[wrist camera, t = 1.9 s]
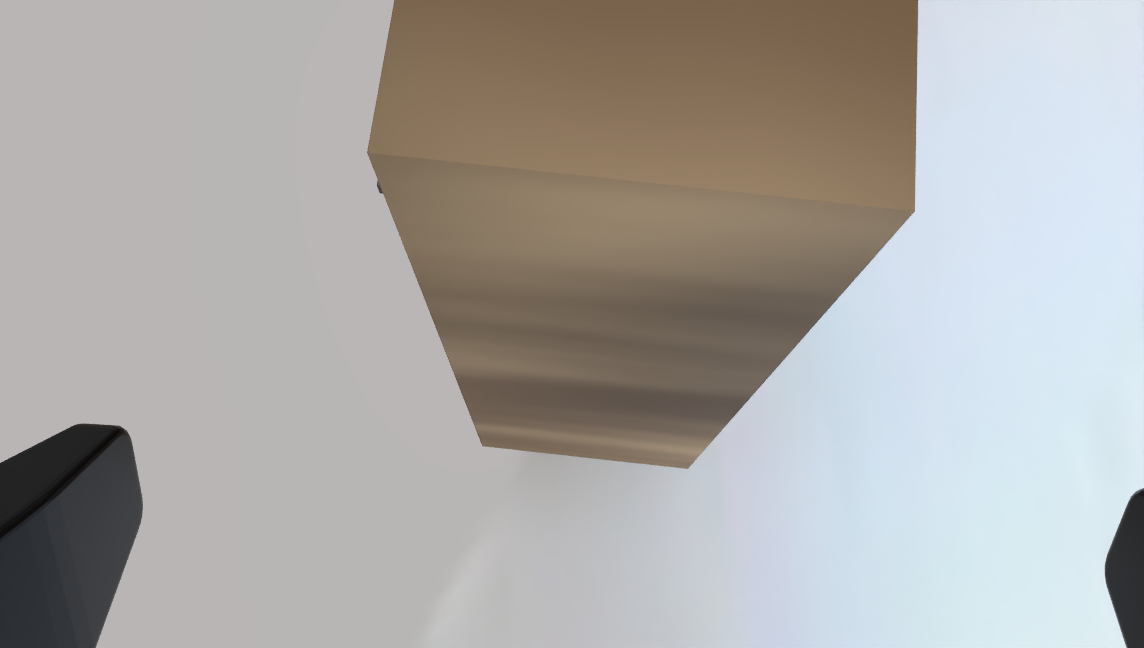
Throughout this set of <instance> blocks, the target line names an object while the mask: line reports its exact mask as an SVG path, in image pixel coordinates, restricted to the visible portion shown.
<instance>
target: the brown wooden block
mask: <svg viewBox="0 0 1144 648" xmlns="http://www.w3.org/2000/svg"><path fill="white" fill-rule="evenodd" d="M917 33H918V0H395V1H394V7H393V12H392V17H391V23H390V28H389V34H388V40H387V45H386V51H385V56H384V62H383V68H382V73H381V79H380V84H379V90H378V95H377V101H376V107H375V112H374V118H373V123H372V129H371V135H370V140H369V146H368V151H367V153H368V156H369V158H370V161H371V163H372V166H373V168H374V171H375V173H376V176H377V179H378V181H379V184H380V186H381V189H382V191H383V194H384V196H385V199H386V202H387V204H388V206H389V209H390V212H391V214H392V217H393V219H394V222H395V224H396V227H397V229H398V232H399V235H400V237H401V240H402V242H403V245H404V247H405V250H406V252H407V255H408V258H409V260H410V263H411V265H412V268H413V270H414V273H415V275H416V278H417V281H418V283H419V285H420V288H421V290H422V293H423V296H424V298H425V301H426V303H427V306H428V309H429V311H430V314H431V316H432V319H433V321H434V324H435V326H436V329H437V331H438V334H439V337H440V339H441V341H442V344H443V347H444V349H445V352H446V354H447V357H448V359H449V362H450V365H451V367H452V369H453V372H454V375H455V377H456V380H457V382H458V385H459V387H460V390H461V393H462V395H463V398H464V400H465V403H466V405H467V408H468V410H469V413H470V415H471V418H472V421H473V423H474V425H475V428H476V431H477V433H478V436H479V438H480V441H481V444H482V446H488V447H497V448H505V449H514V450H523V451H533V452H542V453H551V454H560V455H569V456H578V457H587V458H596V459H605V460H614V461H623V462H632V463H641V464H650V465H659V466H669V467H678V468H687V469H688V468H689V467H690V466H691V464H692V463H693V462H694V461H695V460H696V459H697V458H698V456H699V455H700V454H701V453H702V452H703V451H704V450H705V449H706V447H707V446H708V445H709V444H710V443H711V442H712V441H713V439H714V438H715V437H716V436H717V435H718V434H719V433H720V432H721V430H722V429H723V428H724V427H725V426H726V425H727V424H728V422H729V421H730V420H731V419H732V418H733V417H734V416H735V414H736V413H737V412H738V411H739V410H740V409H741V408H742V407H743V405H744V404H745V403H746V402H747V401H748V400H749V399H750V397H751V396H752V395H753V394H754V393H755V392H756V391H757V390H758V388H759V387H760V386H761V385H762V384H763V383H764V382H765V380H766V379H767V378H768V377H769V376H770V375H771V374H772V372H773V371H774V370H775V369H776V368H777V367H778V366H779V365H780V363H781V362H782V361H783V360H784V359H785V358H786V357H787V355H788V354H789V353H790V352H791V351H792V350H793V349H794V348H795V346H796V345H797V344H798V343H799V342H800V341H801V340H802V338H803V337H804V336H805V335H806V334H807V333H808V332H809V330H810V329H811V328H812V327H813V326H814V325H815V324H816V323H817V321H818V320H819V319H820V318H821V317H822V316H823V315H824V313H825V312H826V311H827V310H828V309H829V308H830V307H831V306H832V304H833V303H834V302H835V301H836V300H837V299H838V298H839V296H840V295H841V294H842V293H843V292H844V291H845V290H846V289H847V287H848V286H849V285H850V284H851V283H852V282H853V281H854V279H855V278H856V277H857V276H858V275H859V274H860V273H861V271H862V270H863V269H864V268H865V267H866V266H867V265H868V264H869V262H870V261H871V260H872V259H873V258H874V257H875V256H876V254H877V253H878V252H879V251H880V250H881V249H882V248H883V247H884V245H885V244H886V243H887V242H888V241H889V240H890V239H891V237H892V236H893V235H894V234H895V233H896V232H897V231H898V229H899V228H900V227H901V226H902V225H903V224H904V223H905V222H906V220H907V219H908V218H909V217H910V216H911V215H912V214H913V212H914V211H915V159H916V96H917Z"/></svg>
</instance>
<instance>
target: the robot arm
mask: <svg viewBox="0 0 1144 648" xmlns="http://www.w3.org/2000/svg"><path fill="white" fill-rule="evenodd" d="M142 510H143V502H142V494H141V489H140V483H139V478H138V473H137V467H136V462H135V457H134V451H133V446H132V442H131V438H130V436H129V434H128V432H127V431H126V430H125V429H124V428H122V427H120V426H114V425H99V424H77V425H74V426H72V427H70V428H68V429H66V430H64V431H62V432H60V433H58V434H56V435H54V436H52V437H50V438H48V439H46V440H44V441H43V442H41V443H38V444H37V445H35V446H33V447H31V448H29V449H27V450H25V451H23V452H21V453H19V454H17V455H15V456H13V457H11V458H9V459H7V460H5V461H4V462H1V463H0V648H96V645H97V642H98V640H99V636H100V634H101V631H102V629H103V626H104V623H105V620H106V617H107V615H108V612H109V609H110V606H111V604H112V601H113V598H114V595H115V593H116V590H117V587H118V584H119V582H120V579H121V576H122V573H123V571H124V568H125V565H126V562H127V560H128V557H129V554H130V551H131V549H132V546H133V543H134V540H135V538H136V535H137V532H138V529H139V526H140V523H141V518H142ZM1105 579H1106V584H1107V588H1108V591H1109V594H1110V598H1111V601H1112V604H1113V607H1114V610H1115V613H1116V616H1117V619H1118V622H1119V625H1120V629H1121V632H1122V635H1123V638H1124V641H1125V644H1126V647H1127V648H1144V488H1143V489H1140V490H1138V491H1136V492H1135V493H1134V494H1133V495H1132V496H1131V498H1130V500H1129V502H1128V504H1127V507H1126V509H1125V512H1124V514H1123V517H1122V519H1121V522H1120V524H1119V527H1118V529H1117V532H1116V534H1115V537H1114V539H1113V542H1112V544H1111V547H1110V549H1109V552H1108V554H1107V558H1106V563H1105Z"/></svg>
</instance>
